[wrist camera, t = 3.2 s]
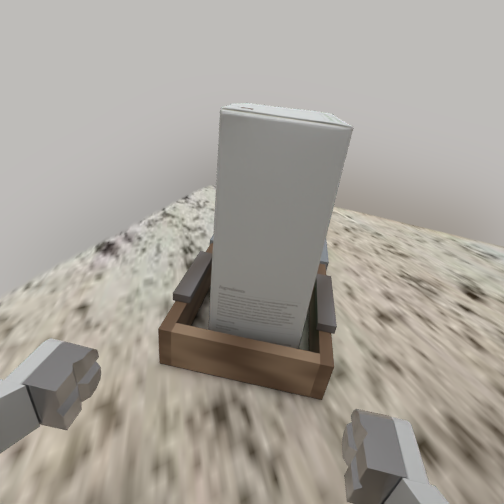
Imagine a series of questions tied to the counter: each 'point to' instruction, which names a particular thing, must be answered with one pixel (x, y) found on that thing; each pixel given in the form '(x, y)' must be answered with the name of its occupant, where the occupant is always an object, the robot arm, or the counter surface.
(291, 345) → the skincare box
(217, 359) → the walnut caddy
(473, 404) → the counter surface
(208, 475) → the counter surface
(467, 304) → the counter surface
